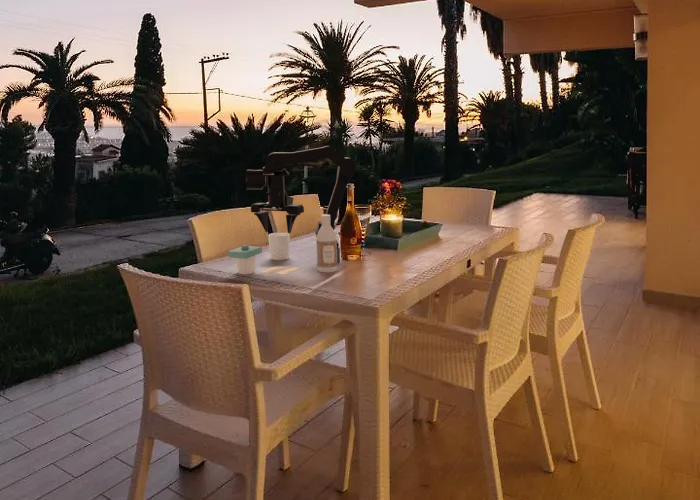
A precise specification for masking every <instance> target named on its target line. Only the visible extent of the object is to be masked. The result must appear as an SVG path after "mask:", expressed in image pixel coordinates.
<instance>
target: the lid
mask: <svg viewBox="0 0 700 500" xmlns="http://www.w3.org/2000/svg"><path fill="white" fill-rule="evenodd" d="M227 253H228V256H227V257H228V258H233V259H236V258H245V259H247V258H249V257H252V256H254V255H255V256H256V255H259V254H262V253H263V246H252V245H248V244H243V245H241V246H240V247H237V248H234V249H230V250H228V251H227Z"/></svg>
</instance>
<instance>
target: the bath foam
mask: <svg viewBox="0 0 700 500" xmlns="http://www.w3.org/2000/svg"><path fill="white" fill-rule="evenodd" d="M321 222H322V226H321V228H320V230H319V231H318V234H317V238H316V237H315V240H316V270H317V272H321V273H333V272H336V271H338V263H337V241H338V239H337V234H336V232H335V229H334V230H333V228H332V227H331V225H330V215H328V214H326V213H325V214H322V215H321Z"/></svg>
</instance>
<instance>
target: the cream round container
mask: <svg viewBox="0 0 700 500" xmlns="http://www.w3.org/2000/svg"><path fill="white" fill-rule="evenodd" d="M235 264H236V269H237V274H240V275H248V274H253V273H254V274H255V272H256V255H254V256H252V257H249V258H247V259H245V258H235Z"/></svg>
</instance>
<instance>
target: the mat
mask: <svg viewBox="0 0 700 500" xmlns="http://www.w3.org/2000/svg"><path fill="white" fill-rule="evenodd" d="M300 269H301V268H300V267H294V266H293V267H292V266H281V265H274V266H272V267H269V268H267V269H265V270H262V271H260V273H262V274H273V275H283V276H284V275H285V276H287V275H289V274H291V273H294V272H295V271H297V270H300Z"/></svg>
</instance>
